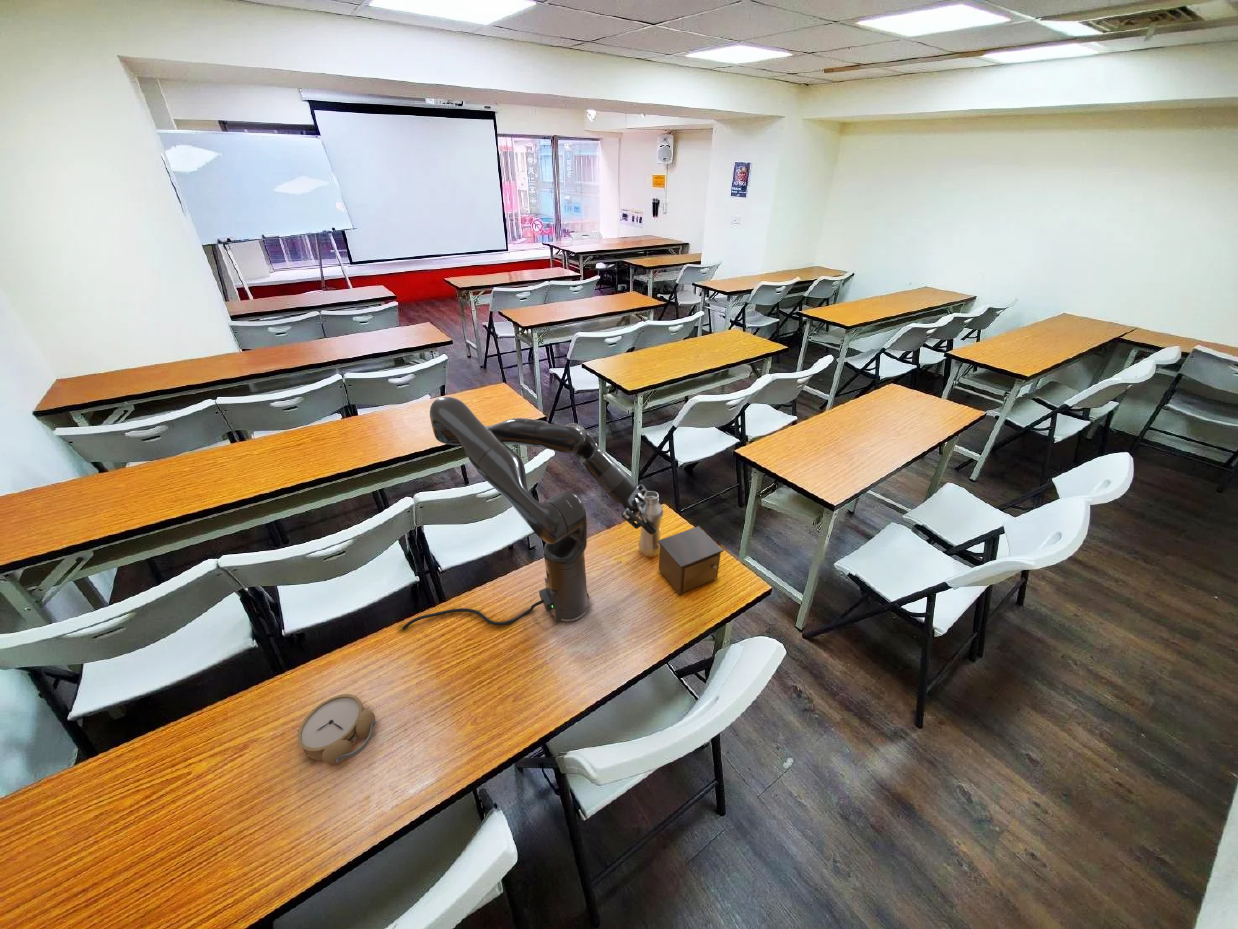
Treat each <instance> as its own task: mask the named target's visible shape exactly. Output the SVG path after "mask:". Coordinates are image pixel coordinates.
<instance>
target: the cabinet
mask: <svg viewBox="0 0 1238 929" xmlns="http://www.w3.org/2000/svg"><path fill="white" fill-rule="evenodd" d="M658 543H659V544H660V553H659V554H658V555H659V558H658V571H660V573H661V575H662V576H663V577H664V578H665V580H666V581H667V582H668V583H669V584H670V587H672V588H673V590H674V591H675V592H676V593H677V594H678V596H681V595H684V594H687V593H688V592H691V591H693V590H695V589H698V588H700V587H702V586H705V585H707V584H709V583H713V582H715V580H716V579H718V575H719V569H720V560H721V554H722V553H723V552H724V549H723V548H722V547H721V546H720V545H719V544H718V543H717V542H715V540H714V539H713V538H712V537H711V536H709V535H708V534H707V533H706V532H705V531H704V529H703V528H701V527H700V526H699V525H697V526H695V527H692V528H689V529H687V530H684V531H681V532H678V533H675V534H673V535H669V536H667V537H665V538H661V540H659V541H658Z"/></svg>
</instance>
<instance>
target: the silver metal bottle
mask: <svg viewBox="0 0 1238 929" xmlns="http://www.w3.org/2000/svg"><path fill="white" fill-rule="evenodd" d="M659 496H660V495H659V493H658V492H657V491H654V490H648V492H646V493H645V497H644V502H643V503H642V505H641V507H642V509H643V511H644V514H643V515H644V517H645V518H646V519H647V521H649V522H650V523H651V524H652V525H653V526H654V527H655V528H656V532H655V533H654V534H652V535H651V534H649V533H648V532H647V531H646V530H645V529H644V528H643V527H640V535H639V538H638V539H639V540H638V549H639V552H640V553H641V554H642V555H644V556H646V557H650V558H651V557H656V556H658V555H659V553H660V544H659V543H658V541H659V540H661V539H662V534H661V533H662V532H661V529H662V528H661V527H662V526H661V525H662V520H663V515H664V510H663V507H662V505H661V503H660V502H659V501H660V498H659ZM639 519H640V520H642V519H641V517H640V516H639Z"/></svg>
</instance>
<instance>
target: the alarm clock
mask: <svg viewBox="0 0 1238 929" xmlns="http://www.w3.org/2000/svg"><path fill="white" fill-rule="evenodd" d="M376 724H377V720H376V715H375V713H374V712H373V710H371V709H366V708H365V706H364V705H363V703H362V700H360V698H359V697H358V696H357V695H353V694H350V693H348V694H347V693H346V694H345V693H344V694H343V693H342V694H338V695H335V696H331V697H329V698H327V699H326V700H324V701H322V702H320V703H319V704H318V705H316V707H314V708H313V709H312V710H311V711H310V712H309V713H308V714H307V715H306V717H304V719H303V721H302V723H300V725H299V728H298V729H297V736H296V737H297V744H298V745H299V746H300V747H301V749H302V750H303V751H304V753H305V754H306V755H307V757H308V758H310V759H312V760H315V761H323V762H324V763H325V764H326V765H330V766H332V765H333V766H334V765H338V764H340V763H342V762H344V761H345V760H346V759H350V758H353V757H355V756H357V755H359V754H360V753H361V752H362V751H364V750H365V749H366V747H368V745H369V744H370V743H371V741H372V739H373V736H374V728H375V725H376ZM365 737H366V739H365V741H364V742H363V743H362V744H361V745H360V746H359V747H357V748H356V749H355V750H353V751H352V747H353V745H354V744H355V743H356V742H357V741H358V739H359V738H365ZM308 755H309V756H308Z"/></svg>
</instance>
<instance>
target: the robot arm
mask: <svg viewBox="0 0 1238 929" xmlns="http://www.w3.org/2000/svg"><path fill="white" fill-rule="evenodd" d="M429 419H430V424H431V428H432V432H433V435H434V438H435V440H437V441H438V442H440V443H441V444H445V445H451V446H461V447H462V449H463V451H464V453H465V454H466V456H467V458H468V460H469V461H470V463H471V465H472V467H473V468H474V470H476V472H477V473H478V474H479V475H480V476H481V477H482V478H483V479H484V480H485V481H486V482H487V483H488V484H489V485H490V486H491V487H493V488H494V489H495V490H496V491H497V492H498V493H499V494H500V495H501V496H502V497H503V498H504V499H505V500H506V501H507V502H508V504H510V505H511V506H512V507H513V508H514V509H515V511H516V512H517V513H518V515H520V517H521V518H522V519H523V520H524V522H525V523H526V524H527V525H528V526H529V528H530V529H531V530H532V531H533V532H534V534H536V536H537V537H538V538H539V539H541V540H542V541H543V542H544V543H545V544H544V547H543V559H544V565H545V566H544V567H545V573H546V577H545V578H544V583H545V588H542V589H540V590H538V594H539V599H540V600H538V601H537V602H535V603H533V604H531V605H530V608H528V609H527V610H526V611H524V612H523V613H521V614H520V615H518V616H516V617H514V618H512V619H510V620H504V621H493V620H491V619H490V618H488V617H487V616H485V615H484V614H483V613H482V612H480V611H479V610H477V609H473V608H460V607H459V608H452V609H447V610H442V611H437V612H434V613H433V612H432V613H428V614H424V615H420V616H418V617H415V618H413V619H411V620H409V621H407V623H405V624H404V625H403V627H402V628H401V630H406V629H407V628H408V627H409V626H411V625H412V624H414V623H416V622H418V621H421V620H425V619H429V618H433V617H438V616H442V615H448V614H452V613H461V612H465V613H473V614H475V615H477V616H479V617H480V618H482V620H484V621H485V622H487V623H488V624H490V625H492V626H507V625H511V624H513V623H515V622H516V621H519V619H521V618H522V617H524V616H527V615H528V614H530V613H531V612H532V611H533V610H534V608H536V607H537V606H539V605H542V604H543V606H544V607H543V608H545V610H546V612H550V613H551V615H552V616H553V618H554V620H555V622H556V623H559V622H565V623H566V622H574V621H578V620H580V619H581V618H583V617H584V616H585V615H586V613H587V612H588V610H589V599H590V595H589V593H588V586H587V573H586V571H587V570H586V556H585V551H586V549H587V546H588V519H587V517H588V516H587V512H586V509H585V505H584V504H583V501H582V500H581V498H580V497H579V496H578V495H577V494H576V493H574V492H572V491H569V490H563V491H561V492H559V493H557V494H555V495H553V496H551V497H550V498H548V499H546V500H545V501H543V502H541V501H539V500H537V499H536V498H534V496H533V495H532V494H531V493H530V491H529V488H528V484H527V475H526V474H527V473H526V466H525V465H524V462H523V460H522V458H521V457H520V456H519V455H518V454H517V453H515V451H513V450H512V448H510V446H508V445H515V446H516V445H517V446H518V445H519V446H525V447H533V448H534V447H535V448H543V449H547V450H550V451H554V452H557V453H562V454H563V453H564V454H573V455H574V456H575V457H576V458H577V459H578V460H579V462H580V465H581V467H582V468H583V469H584V471H585V472H586V473H587V474H588V475H589V476H590V477H592V479H593V480H594V481H595V482H596V484H597V485H598V486H599V487H600V488H601V489H602V490H603V492H604V493H606V494H607V496H609V498H610V499H611V500H612V501H613V502H614V503H616V504H621V506H622V507H623V509H624V511H623V512H622V513H621V515H620V516H621V518H622V519H623V520H625V521H626V522H627V523H628V524H629V525H631V526H632V527H633V528H634V529H636V530H637V529H639V528H641V527H643V528H644V529H645V530H646V531H647V532H648V533H649V534H651V535H652V534H654V533H655V532H656V528H655V527H654V526H653V525H652V524H651V523H650V522H649V521H647V519H646V518H645V517H644V515H643V514H644V511H643V509H642V507H641V505H642V503H643V502H644V497H645V493H646V492H648V491H649V490H648V489H647V488H646V486H645V485H644V484H643V483H640V484H639V485H637V483H636V482H635V481H634V479H633V478H631V476H630V475H629V474H628V473H626V471H625V470H624V469H623V468H622V467H621V466H620V465H619V464H617V463H616V462H615V461H614V460H613V459H612V458H611V457H610V456H609V455H608V454H607V453H606V452H605V450H603V449H602V448H601V447H600V446H599V445H598V444H597V442H596V441H595V439H594V438H593V437H592V436H591V435H590V433H589V432H588V431H587V430H586V429H585V428H584V427H583V426H582V425H581V424H579V423H576V422H569V423H567V424H564V425H559V424H553V423H549V422H548V421H545V420H540V419H535V418H534V419H532V418H526V417H516V418H515V417H514V418H510V419H506V420H503V421H501V422H498V423H495V424H491V425H484V424H483V423H482V422H481V420H480V419H478V417H477V416H476V415H475V414H474V413H473V411H472V410H471V409H470V408H469V407H468V406H467V404H466V403H465V402H463V401H462V400H460V399H458V398H455V397H452V396H441V397H438V398H436V399H435V400H434V401H433V402H432V403H431V404H430V408H429ZM640 517H641V519H642V520H640Z"/></svg>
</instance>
